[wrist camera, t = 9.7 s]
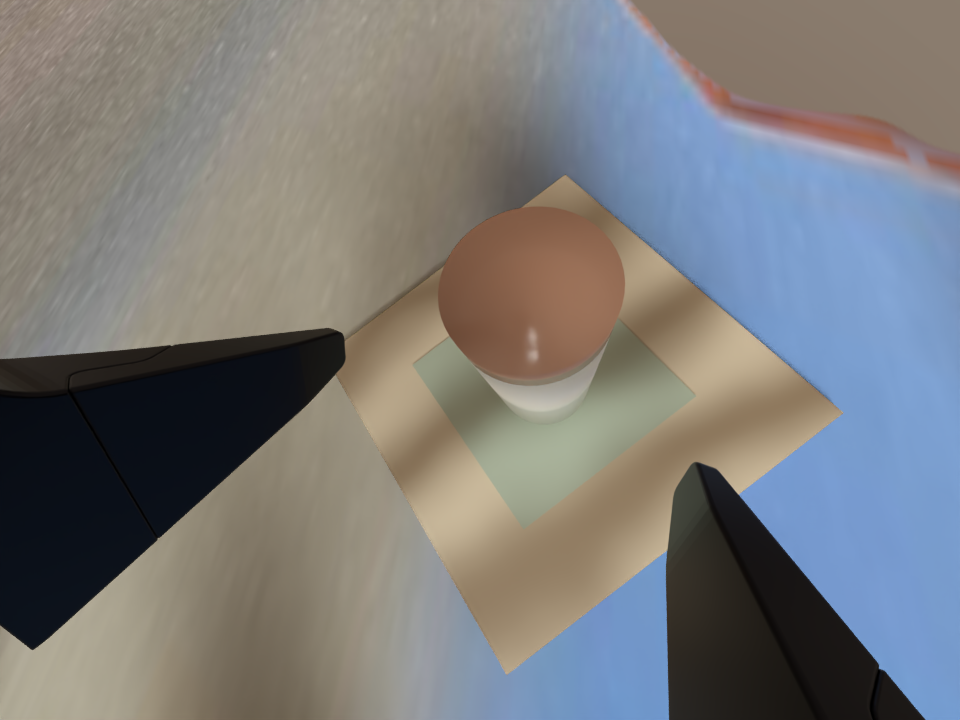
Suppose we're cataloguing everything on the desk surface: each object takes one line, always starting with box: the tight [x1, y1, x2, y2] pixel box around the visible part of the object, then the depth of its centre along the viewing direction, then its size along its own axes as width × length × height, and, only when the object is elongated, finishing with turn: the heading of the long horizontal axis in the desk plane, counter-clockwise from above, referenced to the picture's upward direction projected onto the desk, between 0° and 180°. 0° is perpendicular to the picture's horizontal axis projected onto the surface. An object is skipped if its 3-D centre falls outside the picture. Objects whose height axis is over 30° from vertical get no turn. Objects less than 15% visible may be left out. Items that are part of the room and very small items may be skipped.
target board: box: [336, 175, 843, 675], centre depth 18 cm, size 18×18×1 cm
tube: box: [438, 206, 625, 424], centre depth 13 cm, size 4×4×10 cm
